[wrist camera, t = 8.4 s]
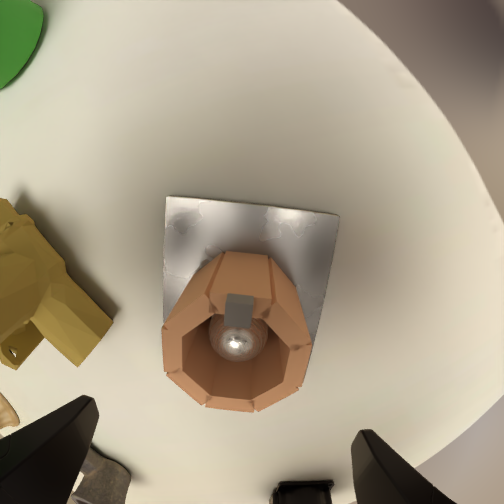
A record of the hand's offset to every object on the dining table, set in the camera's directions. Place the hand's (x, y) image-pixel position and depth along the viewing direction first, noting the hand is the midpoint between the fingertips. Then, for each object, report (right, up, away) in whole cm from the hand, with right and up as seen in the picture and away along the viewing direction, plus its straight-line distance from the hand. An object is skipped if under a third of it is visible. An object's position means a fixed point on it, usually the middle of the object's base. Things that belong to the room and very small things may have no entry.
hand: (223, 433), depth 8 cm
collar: (0, +3, +10) cm, 10 cm away
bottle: (-20, +24, +6) cm, 31 cm away
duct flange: (0, +3, +11) cm, 11 cm away
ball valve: (-16, +3, +11) cm, 20 cm away
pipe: (-18, -19, +18) cm, 31 cm away
